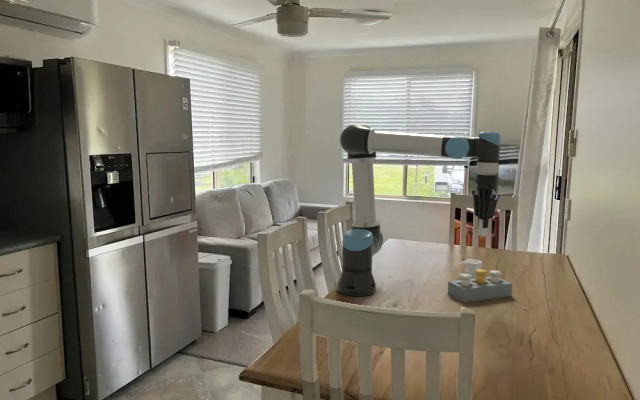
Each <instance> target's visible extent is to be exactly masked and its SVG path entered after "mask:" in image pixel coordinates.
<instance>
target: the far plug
mask: <svg viewBox="0 0 640 400" xmlns="http://www.w3.org/2000/svg"><path fill="white" fill-rule="evenodd" d="M502 273H503V272H502V271H499V270H494V269H492V270H489V273H488V274H490V276H491V277H490V276H489V277H490V282H493V283H499V282H500V279H501V276H502Z"/></svg>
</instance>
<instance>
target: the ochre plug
mask: <svg viewBox="0 0 640 400" xmlns="http://www.w3.org/2000/svg"><path fill="white" fill-rule="evenodd" d="M475 273H476V284H478V285H483V284H485V277H486V275H487V273H488V271H487V270H486V269H482V268H481V269H476V270H475Z"/></svg>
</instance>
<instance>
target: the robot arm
mask: <svg viewBox="0 0 640 400" xmlns="http://www.w3.org/2000/svg"><path fill="white" fill-rule="evenodd" d="M339 142H340V146H341V148H342V149H343V150H344V152H346V153H347V161H349V162H350V163H351V170H352V171H351V172H352V174H351V175H352V190H353V206H354V207H353V208H354V222H353V223H352V224H351V229H348V230H346V231H345V232H344V233H343V234H342V235H343V236H342V240H341V242H342V244H341V245H342V256H341V257H342V258H341V260H342V261H341V263H342V265H341V273H340V276H339V279H338V281H337V287H336V289H337V292H338V293H340V294H342V295H344V296H349V297H367V296H372V295H373V294H375V293H376V292H377V284H376V281H375V278H374V274H373V269H372V268H373V256H375V255H376V254H377V253H378V252H379V251H380V250H381V249H382V247H383V243H384V235H383V233H382V231H381V225H380V222H379V221H378V220H377V217H376V214H377V213H376V199H375V182H374V181H375V180H374V161H375V160H376V159H377V153H387V154H388V153H389V154H400V155H413V156H415V155H416V156H424V157H425V156H426V157H427V156H428V157H440V158H449V159H453V160H454V159H455V160H460V159H463V158H476V159H477V160H476V173H477V174H476V176H475V184H477V186H476V189H474V190H472V191H471V194H472V198H473V209H474V216H475V217H477V218H478V223H477V226H478V230H477V231H478V233H477V236H478V237H487V236H488V235H487V234H488V228H489V221H490V220H491V219H494V215H495V212H496V208H497V204H498V200H499V199H500V197H501V195H500V194H498V193H497V192H496V187H495V186H496V185H497V183H498V175H497V174H498V172H499V171H498V170H499V160H500V150H501V149H500V148H501V134H500V133H499V132H494V131H493V132H492V131H491V132H490V131H489V132H487V131H480V132H479V133H478V136H475V137H471V136H470V137H469V136H456V135H455V136H452V135H451V136H450V135H437V134H436V135H435V134H423V133H422V134H419V133H405V132H393V131H392V132H390V131H377V130H375V129H374V128H373V127H371V126H368V125H365V124H364V125H363V124H351V125H348V126H346V127H345V128H344V129H343V130H342V132H341V134H340V138H339Z"/></svg>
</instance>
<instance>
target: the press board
mask: <svg viewBox="0 0 640 400" xmlns="http://www.w3.org/2000/svg"><path fill="white" fill-rule="evenodd" d="M490 277H491V275H490V276H485V284H483V285H478V284H476V278H472V279H470V286H467V287H463V286H461V279H456V280H449V281H448V284H447V294H448V295H449V296H451V297H453V298H455V299H457V300H459V301H461V302H463V303H469V302H471V303H472V302H477V301H483V300H484V301H485V300H492V299H498V298H506V297H512V296H513V293H512V292H513V282H510V281H507V280H505V279H503V278H500V282H499V283H493V282H490Z"/></svg>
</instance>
